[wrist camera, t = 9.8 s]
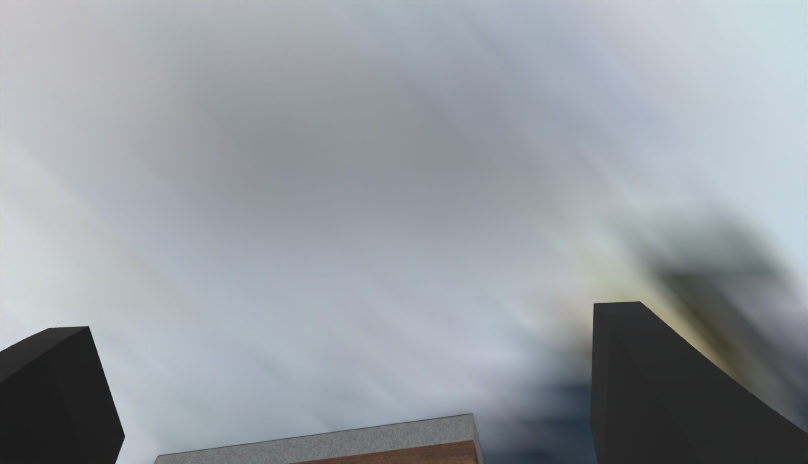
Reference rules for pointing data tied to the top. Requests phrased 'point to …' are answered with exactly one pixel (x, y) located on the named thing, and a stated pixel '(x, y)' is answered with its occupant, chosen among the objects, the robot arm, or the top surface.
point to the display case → (356, 446)
